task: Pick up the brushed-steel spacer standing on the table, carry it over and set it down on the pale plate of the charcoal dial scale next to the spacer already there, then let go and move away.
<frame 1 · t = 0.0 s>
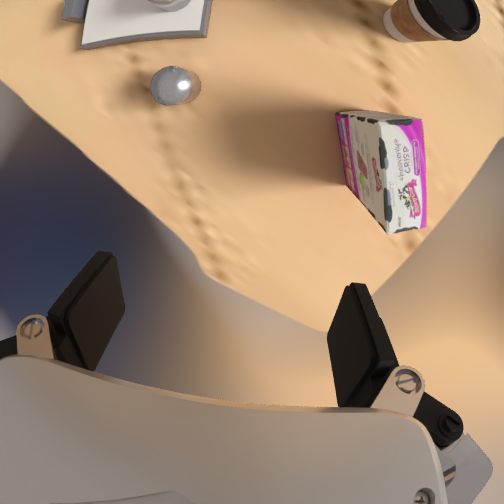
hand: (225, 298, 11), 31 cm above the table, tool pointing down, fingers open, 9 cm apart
coffee cup: (400, 25, 26), on the table
candy bar box: (356, 147, 37), on the table
spacer a: (183, 86, 34), on the table
scale: (147, 6, 27), on the table
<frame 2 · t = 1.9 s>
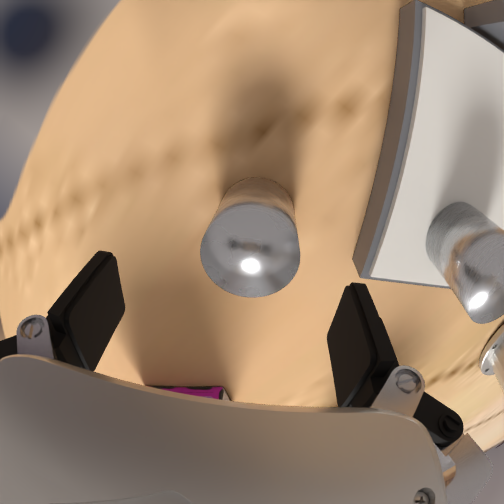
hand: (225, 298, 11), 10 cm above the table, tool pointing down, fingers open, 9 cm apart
candy bar box: (189, 395, 32), on the table
spacer a: (257, 212, 20), on the table
spacer b: (454, 236, 16), point 3 cm above the table, touching scale
scale: (453, 156, 16), on the table
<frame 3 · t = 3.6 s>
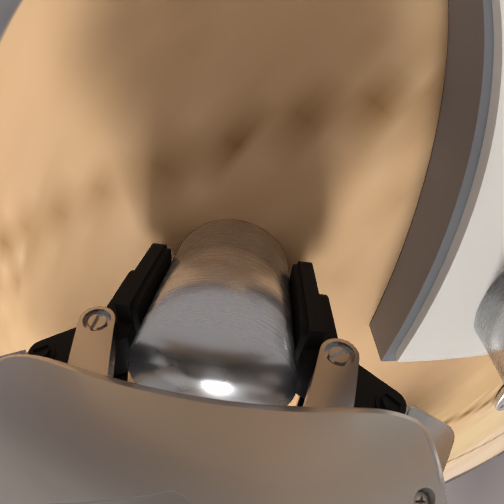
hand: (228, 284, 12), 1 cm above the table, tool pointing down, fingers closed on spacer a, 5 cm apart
spacer a: (231, 271, 13), on the table, touching gripper
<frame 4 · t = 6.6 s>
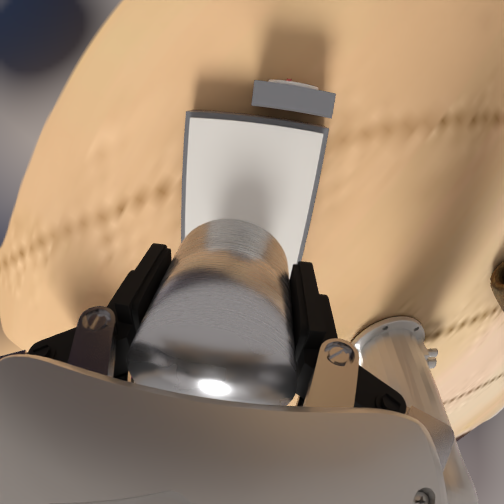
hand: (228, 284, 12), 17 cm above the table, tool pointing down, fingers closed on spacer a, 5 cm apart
spacer a: (231, 270, 13), point 16 cm above the table, touching gripper
scale: (246, 210, 29), on the table
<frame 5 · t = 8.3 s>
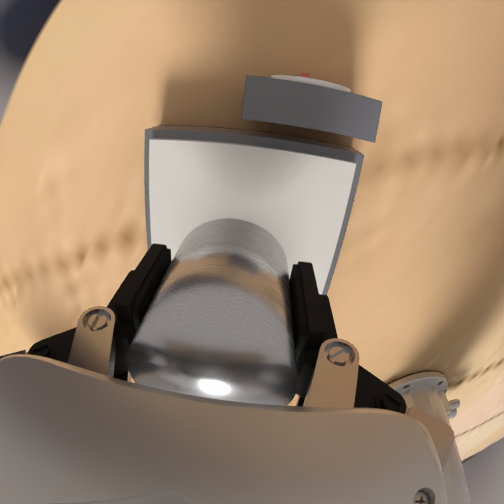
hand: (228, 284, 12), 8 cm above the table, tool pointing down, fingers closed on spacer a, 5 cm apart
spacer a: (231, 270, 13), point 7 cm above the table, touching gripper
scale: (240, 265, 21), on the table
when the fingers open (5 cm above the table, at t = 9.8 s): spacer a stays where it is, resting on scale.
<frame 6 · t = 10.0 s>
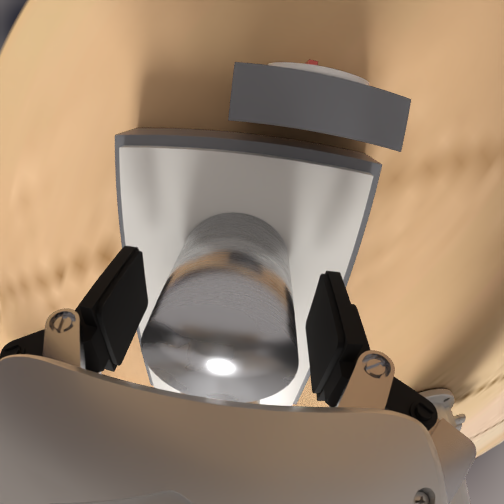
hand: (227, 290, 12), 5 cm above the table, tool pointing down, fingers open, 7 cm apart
spacer a: (235, 261, 14), point 3 cm above the table, touching scale
scale: (233, 288, 18), on the table
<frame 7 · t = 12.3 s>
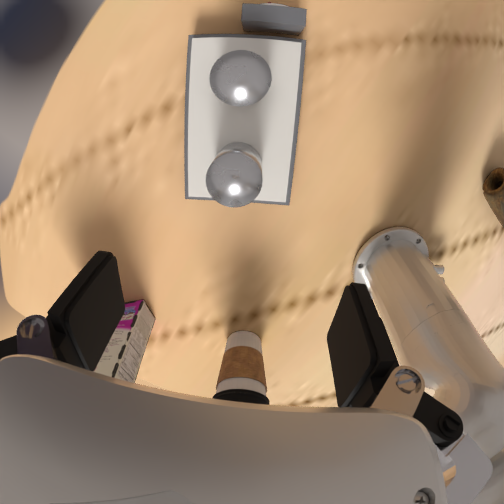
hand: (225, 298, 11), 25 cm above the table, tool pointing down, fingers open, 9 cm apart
coffee cup: (244, 340, 49), on the table
candy bar box: (126, 312, 46), on the table
spacer a: (244, 82, 25), point 3 cm above the table, touching scale
spacer b: (238, 164, 30), point 3 cm above the table, touching scale
scale: (242, 116, 30), on the table
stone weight: (499, 199, 33), on the table
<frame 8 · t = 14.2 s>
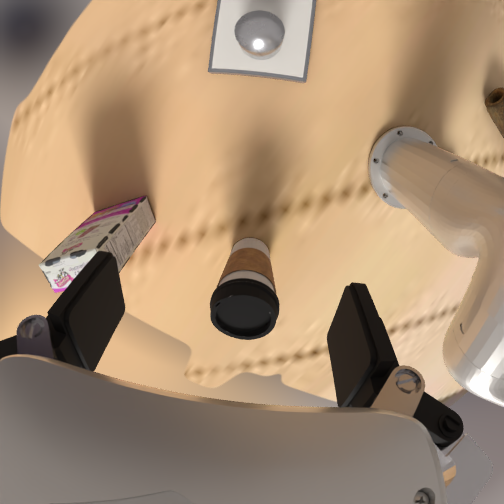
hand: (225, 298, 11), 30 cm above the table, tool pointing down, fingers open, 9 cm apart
coffee cup: (250, 253, 46), on the table
candy bar box: (125, 216, 43), on the table
spacer b: (260, 41, 27), point 3 cm above the table, touching scale
scale: (265, 14, 27), on the table
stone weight: (503, 125, 30), on the table
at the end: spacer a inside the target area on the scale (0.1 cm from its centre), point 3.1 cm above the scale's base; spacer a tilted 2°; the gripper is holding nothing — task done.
